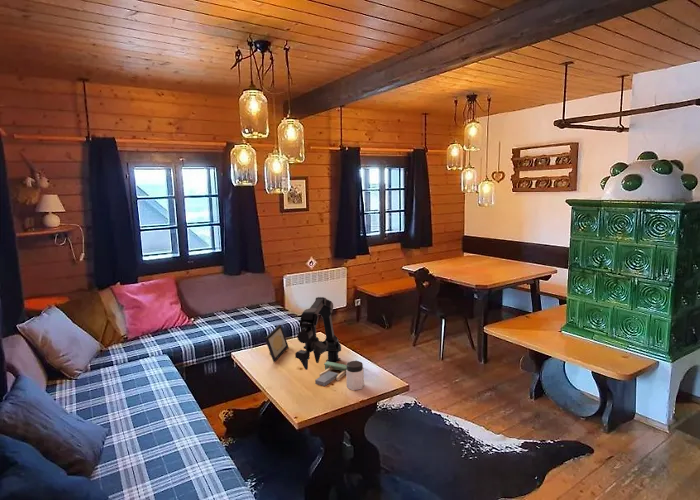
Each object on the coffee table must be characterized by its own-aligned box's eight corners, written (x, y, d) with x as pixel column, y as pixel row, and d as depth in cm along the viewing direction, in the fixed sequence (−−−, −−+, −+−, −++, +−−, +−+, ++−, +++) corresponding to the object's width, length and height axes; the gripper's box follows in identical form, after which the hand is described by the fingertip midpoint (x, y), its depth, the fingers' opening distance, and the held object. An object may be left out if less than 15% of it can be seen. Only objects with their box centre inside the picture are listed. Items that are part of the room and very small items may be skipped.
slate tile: (329, 375, 235) (328, 371, 235) (338, 377, 232) (338, 373, 231) (315, 384, 225) (315, 379, 225) (324, 387, 222) (324, 382, 221)
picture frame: (275, 361, 254) (270, 337, 252) (261, 362, 256) (256, 338, 254) (288, 346, 277) (284, 324, 275) (275, 347, 278) (271, 325, 276)
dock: (328, 367, 244) (327, 360, 244) (353, 372, 236) (352, 365, 236) (315, 376, 234) (315, 369, 233) (341, 381, 226) (341, 375, 225)
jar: (348, 391, 215) (347, 368, 213) (345, 384, 223) (344, 362, 221) (366, 388, 217) (365, 366, 215) (362, 381, 225) (361, 359, 223)
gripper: (312, 344, 202) (314, 376, 205) (334, 332, 218) (335, 362, 220) (293, 341, 208) (295, 372, 210) (316, 329, 224) (317, 358, 226)
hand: (312, 366), depth 217 cm, fingers open, 9 cm apart
